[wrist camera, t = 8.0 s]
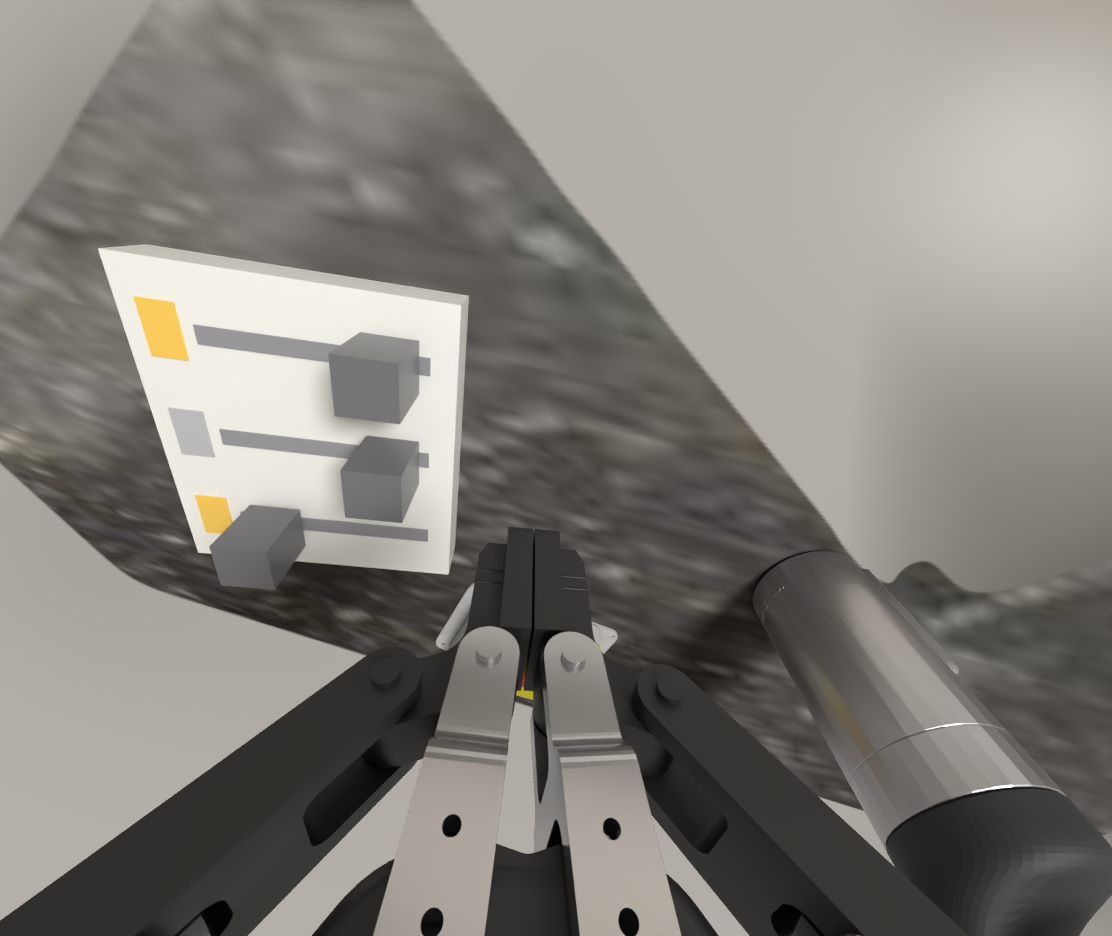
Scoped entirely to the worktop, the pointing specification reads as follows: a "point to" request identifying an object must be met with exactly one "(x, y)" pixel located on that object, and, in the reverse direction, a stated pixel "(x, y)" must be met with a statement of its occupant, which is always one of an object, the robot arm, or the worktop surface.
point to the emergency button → (459, 622)
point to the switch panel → (289, 396)
